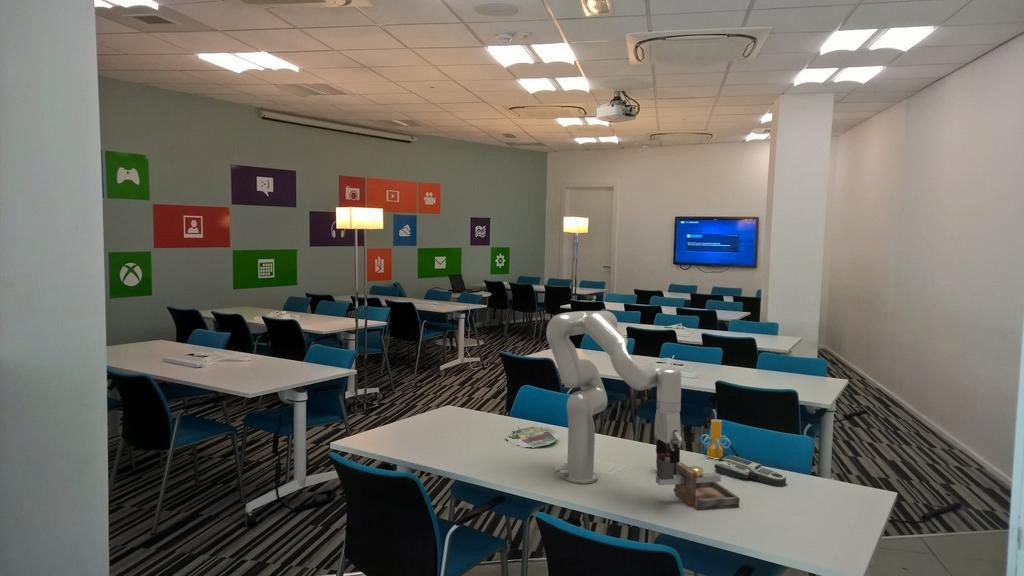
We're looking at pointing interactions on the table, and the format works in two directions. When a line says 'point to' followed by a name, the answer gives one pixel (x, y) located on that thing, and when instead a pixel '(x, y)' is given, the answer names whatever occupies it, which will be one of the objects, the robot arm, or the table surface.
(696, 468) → the gold dome
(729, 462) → the communication device
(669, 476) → the grey sliding bolt
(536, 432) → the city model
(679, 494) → the guide frame
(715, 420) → the orange vase with handles
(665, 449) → the robot arm
